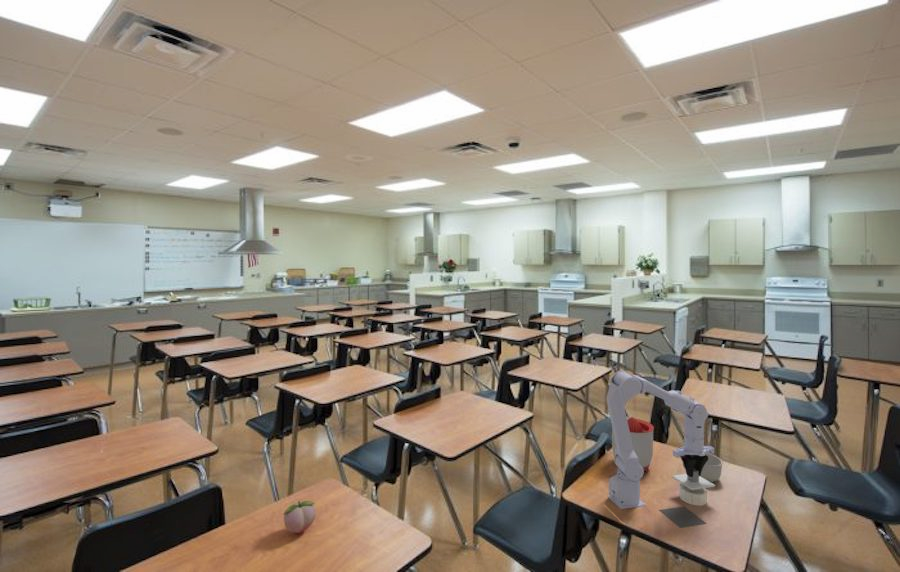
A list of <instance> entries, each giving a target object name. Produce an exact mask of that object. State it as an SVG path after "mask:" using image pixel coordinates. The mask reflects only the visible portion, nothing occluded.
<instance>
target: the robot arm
mask: <svg viewBox="0 0 900 572" xmlns="http://www.w3.org/2000/svg"><path fill="white" fill-rule="evenodd" d="M609 383H610V384H609V387H608V391H607V395H606V398H605V399H606V405H607V410H608V413H609V418H610V423H611V427H612V428H613V433H614V437H615V442H616V446H617V448H616V449H615V458H613V460H614V461H613V462H614V464H615V466H616V467H617V471H616V474H615V475H614V476H612V477H609V480H608V495H607V498H609V500H610V501H612V502H613V504H615V506H617V507H618V508H619V509H621V510H624V509H631V508H638V507H644V506H647V505H646V503H645V502H643V501H642V500H641V479H642V478H643V476H644V473H645V471H644V469H643V467H642V466H641V464H640V463H639V460H638V457H637V455H636V453H635V451H634V449H633V445H632V440H631V435H630V431H629V426H628V422H627V420H628V418H627V413H626V408H625V405H626V403H628V402H629V401H631V400H632V399H633V398H635V397H637V396H638V395H639V394H641V395H644V394H645V393H649V394H651V395H653V396H655V397H657V398H659V399H660V400H661V399H662V400H663V401H664V404H665V406H667V407H668V408H670V409H673V410H675V411H677V412H679V413H681V414H683V415H684V430H683V431H684V432H683V434H684V439H683V440H684V441H683V446H681V447H679V448H676V449H672V456H673V457H675V458H676V459H680V460H681V461H682V465H683V464H684V466H685V468H684V470H685V474H687V475H688V476H690V477H693V471H694V469H696V470H697V471H699V476H700V475H701V472H702V469H703V467H704V465H705V463H706V462H707V461H708V456H706V455H705V453H709V454H712V455H714V454H715V448H714V447H713V446H711V445H704V444H705V443H704V440H705V438H704V437H705V436H704V435H705V423H706V419H707V418H708V416H709V412H708V410H707V408H706V407H705V404H702V403H700V402H698V401H696V400H695V399H694V398H693V397H691V396H689V397H688V396H686V395H684V394H683V392H682V391H680V390H678V389H677V390H674V389H673V390H665V389H664V388H662V387H660V386H658V385H656V384H655V383H652V382H650V381H649V380H647V379H645V378H643V377H641V376H638V375H635V374H632V373H628V372H627V371H626V370H618V371H616V372H615V373H614V374H613V375H612V376H611V377H610V379H609Z"/></svg>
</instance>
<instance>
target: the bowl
mask: <svg viewBox="0 0 900 572" xmlns="http://www.w3.org/2000/svg"><path fill="white" fill-rule="evenodd" d="M678 487H679V488H678V491H679V493H678V495H679V499H680V500H681V501H682V502H683V503H687V504H689V505H692V506H699V507H700V506H701V507H702V506H705V505H706V504H708V491H707V488H703V489H695V490H691V489H689V488H688V487H686V486H685V485H683V484H682V483H680V484H679V486H678Z"/></svg>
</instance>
